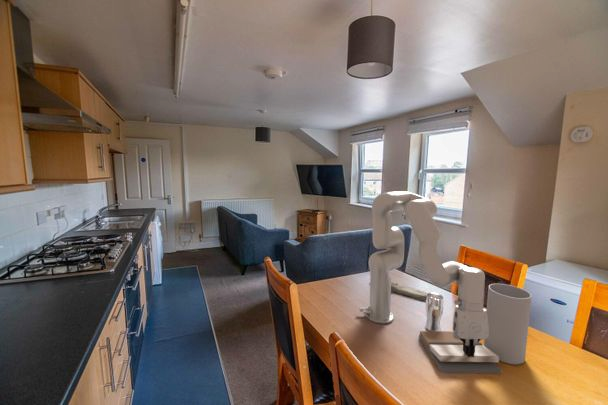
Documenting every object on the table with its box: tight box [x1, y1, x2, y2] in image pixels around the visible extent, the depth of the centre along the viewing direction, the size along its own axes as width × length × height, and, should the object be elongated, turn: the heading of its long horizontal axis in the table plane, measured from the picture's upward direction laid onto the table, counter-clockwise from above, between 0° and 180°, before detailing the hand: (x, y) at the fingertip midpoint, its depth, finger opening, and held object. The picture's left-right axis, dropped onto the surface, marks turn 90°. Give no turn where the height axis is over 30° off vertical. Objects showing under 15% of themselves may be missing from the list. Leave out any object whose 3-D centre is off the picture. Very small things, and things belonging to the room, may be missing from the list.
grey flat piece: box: [418, 330, 502, 374], centre depth 100 cm, size 20×19×4 cm
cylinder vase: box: [483, 283, 533, 365], centre depth 99 cm, size 12×12×25 cm
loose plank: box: [430, 344, 500, 363], centre depth 96 cm, size 20×8×2 cm, turn 89°
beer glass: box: [425, 292, 444, 331], centre depth 115 cm, size 7×7×15 cm
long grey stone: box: [391, 280, 428, 302], centre depth 153 cm, size 35×5×10 cm
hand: (468, 354), depth 93 cm, fingers closed
